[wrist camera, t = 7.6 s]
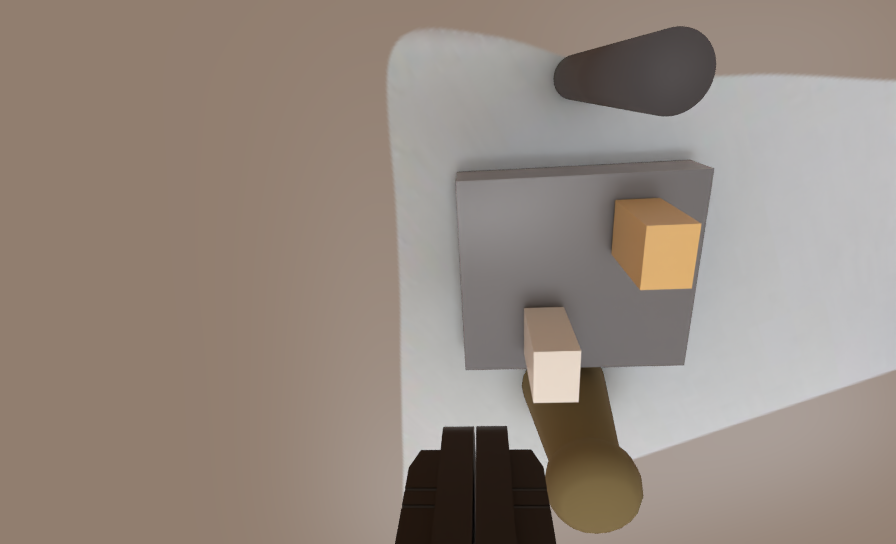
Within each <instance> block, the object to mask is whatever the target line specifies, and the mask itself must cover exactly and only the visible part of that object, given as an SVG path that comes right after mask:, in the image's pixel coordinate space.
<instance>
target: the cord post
mask: <svg viewBox="0 0 896 544" xmlns="http://www.w3.org/2000/svg"><path fill="white" fill-rule="evenodd" d="M715 70H716V57H715V53H714V49H713V47H712V45H711V43H710V41H709V40H708V39H707V37H706V36H705V35H703V34H702V33H701V32H699V31H698V30H695V29H693V28H689V27H683V26H682V27H681V26H679V27H672V28H668V29H664V30H661V31H657V32H653V33H650V34H646V35H642V36H639V37H635V38H631V39H628V40H624V41H621V42H617V43H613V44H610V45H606V46H603V47H599V48H595V49H592V50H588V51H584V52H581V53H577V54H574V55H570V56H568V57H566V58H564V59H563V60H562V61H561V62H560V63H559V65H558V66H557V68H556V70H555V73H554V85H555V88H556V90H557V92H558V93H559V94H560V95H561V96H562V97H564V98H566V99H569V100H575V101H580V102H586V103H591V104H597V105H602V106H608V107H613V108H619V109H624V110H630V111H635V112H641V113H646V114H652V115H657V116H674V115H678V114H681V113H683V112H685V111H687V110H689V109H691V108H692V107H693V106H695V105H696V104H697V103H698V102H699V101H700V100H701V99H702V98H703V97H704V96H705V94H706V93H707V91H708V90H709V88H710V86H711V84H712V81H713V78H714V75H715Z"/></svg>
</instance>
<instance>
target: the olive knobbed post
mask: <svg viewBox="0 0 896 544" xmlns="http://www.w3.org/2000/svg"><path fill="white" fill-rule="evenodd" d="M522 389H523V393H524V397H525V400H526V402H527V405H528V408H529V410H530V413H531V416H532V418H533V421H534V424H535V426H536V429H537V431H538V434H539V437H540V439H541V442H542V445H543V447H544V450H545V453H546V455H547V458H548V461H549V462H548V465H547V469H546V475H545V480H546V485H547V492H548V497H549V503H550V505H551V507H552V509H553V510H554V511H555V513H556V514H557V516H558V517H559V518H560V519H561V520H562V521H563V522H565V523H566V524H567V525H569V526H570V527H572V528H573V529H576V530H579V531H582V532H585V533H595V534H598V533H607V532H611V531H614V530H617V529H620V528H622V527H623V526H625V525H626V524H628V523H629V522H631V521H632V519H633V518H634V517H635V516H636V515H637V513H638V511H639V508H640V505H641V502H642V499H643V490H642V480H641V475H640V473H639V471H638V469H637V467H636V465H635V464H634V462H633V460H632V458H631V457H630V456H629V455H628V454H627V452H626V451H624V450H623V449H622V448H621V447H619V444H618V439H617V435H616V430H615V425H614V420H613V416H612V411H611V406H610V402H609V397H608V392H607V388H606V383H605V378H604V373H603V371H602V369H601V368H600V367H582V368H580V385H579V402H563V403H533V399H532V393H531V388H530V382H529V377H528V372H527V370H526V372H525V374H524V376H523V382H522Z"/></svg>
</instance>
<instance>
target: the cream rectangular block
mask: <svg viewBox="0 0 896 544" xmlns="http://www.w3.org/2000/svg"><path fill="white" fill-rule="evenodd" d="M524 356H525V361H526V366H527V372H528V377H529V382H530V388H531V393H532V399H533V403H563V402H579V385H580V367H581V349H580V346H579V344H578V341H577V339H576V336H575V334H574V331H573V329H572V326H571V324H570V321H569V319H568V316H567V314H566V311H565V309H564V307H543V308H524Z"/></svg>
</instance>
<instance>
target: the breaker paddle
mask: <svg viewBox="0 0 896 544" xmlns="http://www.w3.org/2000/svg"><path fill="white" fill-rule="evenodd" d="M700 231H701V223H700V222H698V221H697V220H695V219H693V218H692V217H690V216H689V215H687V214H685V213H684V212H682V211H681V210H679V209H677V208H676V207H674V206H672V205H671V204H669V203H668V202H666V201H664V200H663V199H661V198H647V199H626V200H615V213H614V226H613V239H612V253H611V254H612V256H613V257H614V258H615V259H616V261H617V262H618V263H619V264H620V266H621V267H622V268H623V270H624V271H625V272H626V273H627V275H628V276H629V277H630V278H631V280H632V281H633V282H634V283H635V285H636V286H637V287H638V288H639V290H660V289H690V288H692V284H693V277H694V271H695V264H696V257H697V251H698V244H699V237H700Z"/></svg>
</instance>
